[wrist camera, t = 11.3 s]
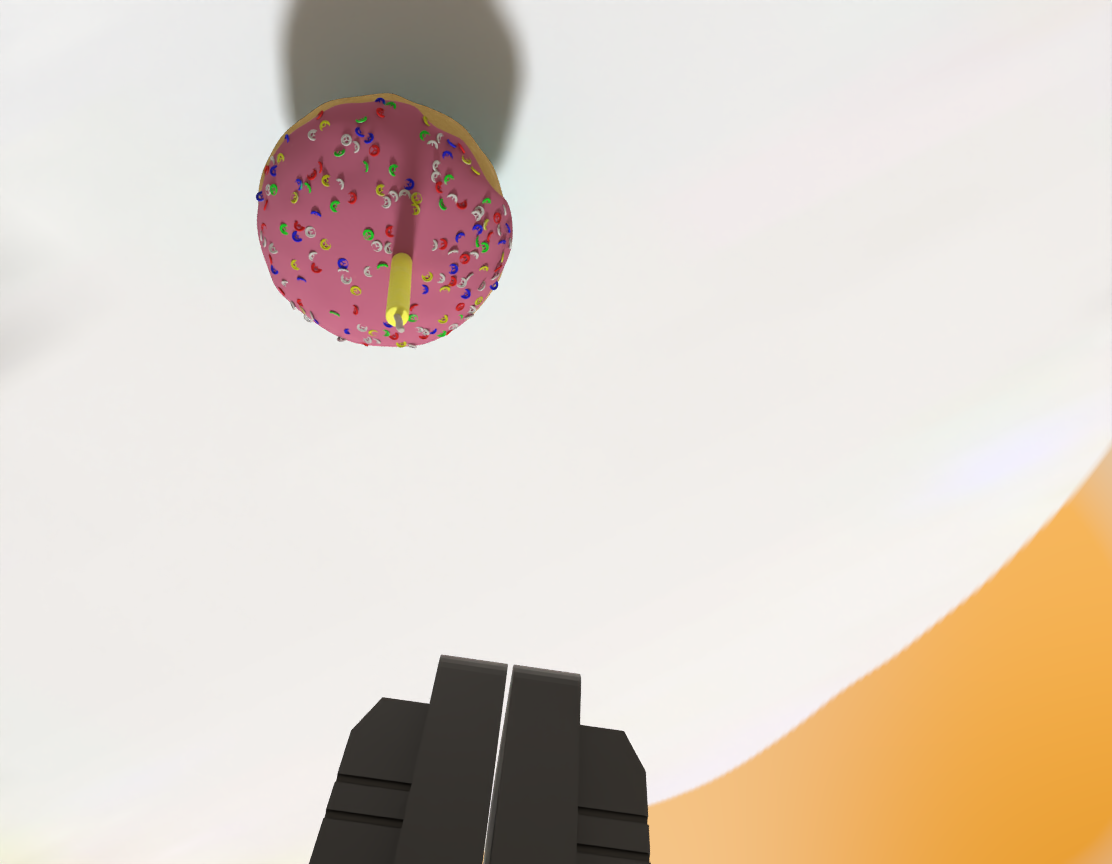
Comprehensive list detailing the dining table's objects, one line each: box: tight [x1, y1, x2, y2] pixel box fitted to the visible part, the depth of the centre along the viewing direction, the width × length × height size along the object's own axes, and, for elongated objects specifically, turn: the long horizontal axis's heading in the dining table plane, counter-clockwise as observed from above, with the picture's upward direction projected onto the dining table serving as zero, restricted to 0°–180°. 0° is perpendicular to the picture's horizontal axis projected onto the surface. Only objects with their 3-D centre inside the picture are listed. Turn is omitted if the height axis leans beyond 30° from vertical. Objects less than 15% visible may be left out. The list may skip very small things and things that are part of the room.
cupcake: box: [256, 93, 513, 348], centre depth 32 cm, size 9×8×12 cm
